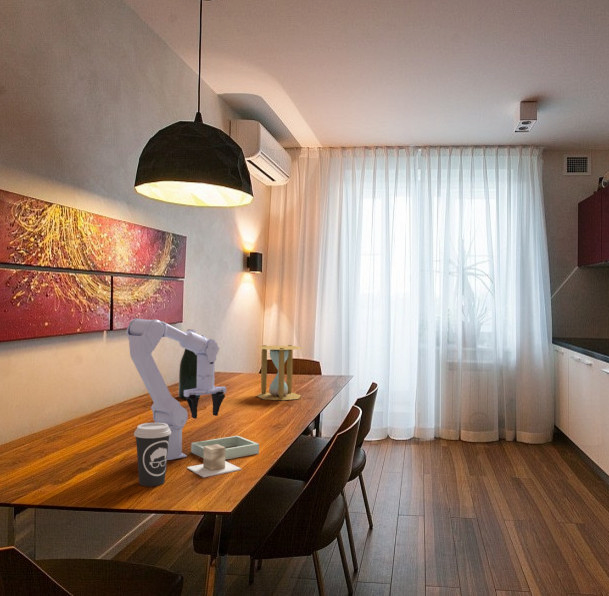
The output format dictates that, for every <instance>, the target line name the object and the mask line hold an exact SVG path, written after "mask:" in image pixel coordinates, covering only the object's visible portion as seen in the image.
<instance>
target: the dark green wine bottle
mask: <svg viewBox="0 0 609 596" xmlns="http://www.w3.org/2000/svg"><path fill="white" fill-rule="evenodd" d="M188 330H189V331H190V330H191V329H187V330H186V331H188ZM179 362H180V363H179V373H178V398H179V399H183V400H186V398H185V396H184V390H189V389H195V388H197V355H196V354H195V353H194V352H193V351H190V350H188V349H185V348H184V351H183V353H182V357H181V359H180V361H179ZM201 396H202V395H197V396H196V397H197V398H199V399H200V398H201Z"/></svg>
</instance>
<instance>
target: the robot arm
mask: <svg viewBox="0 0 609 596" xmlns="http://www.w3.org/2000/svg"><path fill="white" fill-rule="evenodd" d="M187 330H188V331H187ZM187 330H185V331H182V330H180V329H178V328H176V327H175V326H173V325H171V324H169V323H167V322H165V321H161V320H159V319H142V318H133V319H132V320H130V322H129V323H128V325H127V328H126V331H125V336H126V337H127V340H128V344H129V345H128V346H129V355H130V358H131V360H132V362H133V364H134V366H135V368H136V370H137V372H138V374H139V377H140V378H141V381H142V382H143V384H144V387H145V388H146V390H147V392H148V394H149V397H150V398H151V400H152V402H153V403H152V405H151V407H150V409H151V411H152V418H153V421H154V423H165V424H168V426H169V428H170V430H171V434H170V435H169V444H168V453H167V461H172V460H176V459H182V458H187V457H188V455H187V454H185V453H183V452H182V451H183V429H184V428H185V427H184V426H185V425H186V423H187V421H188V416H189V414H188V411H187V409H186V408H184V407H183V406H182V405H181V403H180V401H178V400H177V399H176V398H174V397H173V396H172V394H171V392H170V390H169V388H168V386H167V384H166V382H165V380H164V378H163V376H162V373H161V371H160V369H159V368H158V365H157V364H156V362H155V359H154V358H153V355H152V353H153V352H154V350H155V349H156V347H157V346H158V345H159V343H160V341H161V340H162V338H168V339H170V340H173V341H175V342H178V343H179V345H180V347H181V348H183V349H184V350H185V349H188V350H190V351H193V352H194V353H195V354H196V355H197V388H195V389H189V390H184V396H185V398H186V399H185V401H186V402H187V405H188V406H189V409H190V414H191V419H197V418H198V405H199V400H200V397H199V398H197V397H196V396H197V395H201V396H205V395H211V399H212V416H215V417H218V416H219V411H220V408H221V405H222V403H223V401H224V399H225V398H226V393H227V387H226V386H215V366H216V365H215V362H216V360H217V355H218V353H219V350H220V347H219V346H218V343H217V341H216V340H215V339H212V338H206V335H204V334H201V335H200V334H198V333H196V330H195V329H187ZM189 330H190V331H189Z"/></svg>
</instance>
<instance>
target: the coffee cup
mask: <svg viewBox="0 0 609 596" xmlns="http://www.w3.org/2000/svg"><path fill="white" fill-rule="evenodd" d="M136 427H137V428H136V429H135V431H134V433H133V435H134V437H135V440H136V441H135V443H136V453H137V454H136V456H137V470H138V471H137V472H138V483H139V484H138V485H140V486H142V487H157V486H158V487H159V486H162V485H163V484H165V480H166V472H167V462H168V460H167V453H168V444H169V435H170V434H171V430H170V428H169V426H168V424H165V423H156V422H145V423H141V424H138V425H137V426H136Z"/></svg>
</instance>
